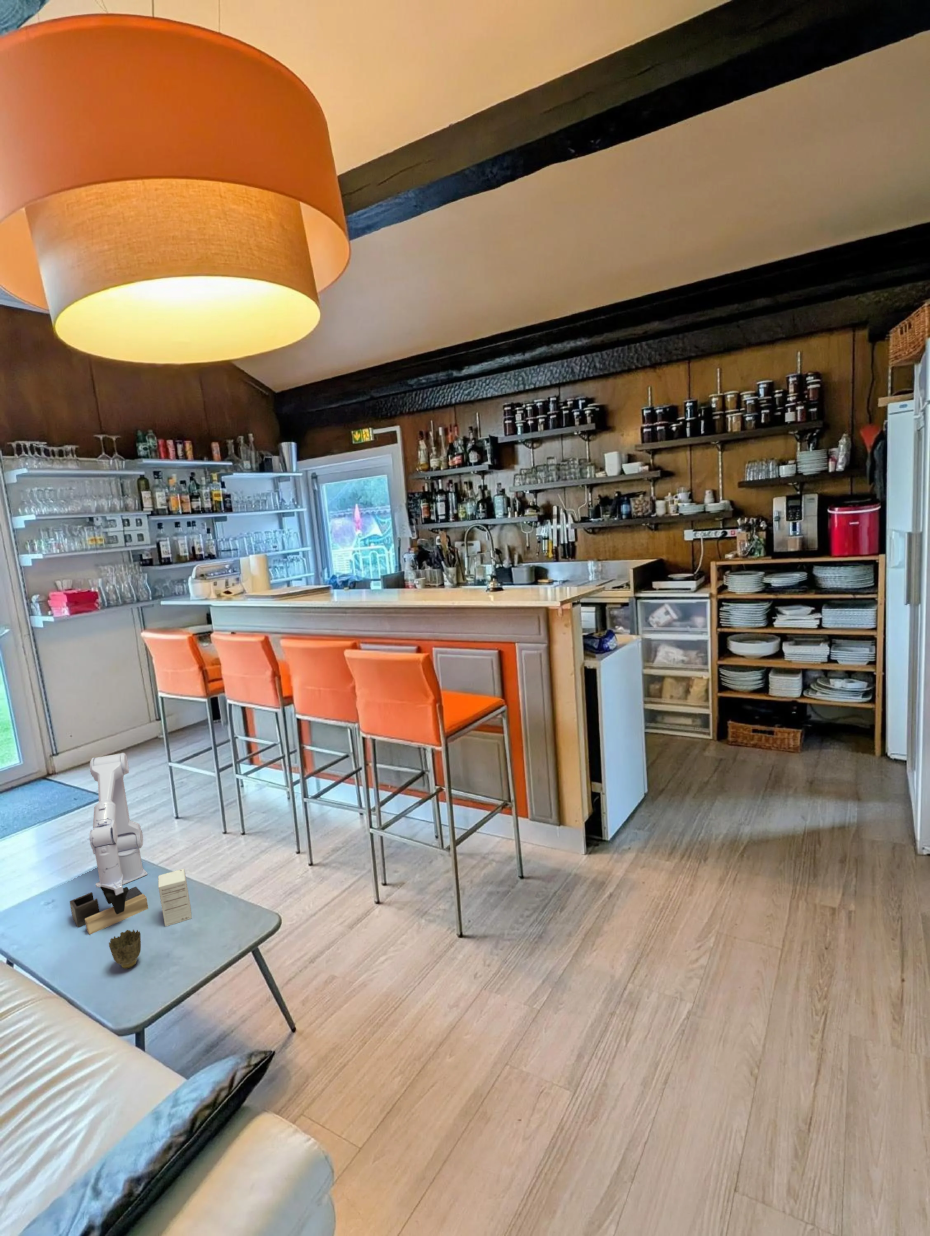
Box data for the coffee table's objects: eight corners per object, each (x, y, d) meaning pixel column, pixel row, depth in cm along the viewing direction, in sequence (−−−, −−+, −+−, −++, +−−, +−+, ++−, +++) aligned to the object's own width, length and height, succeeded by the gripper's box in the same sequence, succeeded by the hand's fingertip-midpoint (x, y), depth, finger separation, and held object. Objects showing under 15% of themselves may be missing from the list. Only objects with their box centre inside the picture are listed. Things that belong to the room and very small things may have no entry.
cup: (137, 952, 175) (132, 925, 174) (150, 962, 170) (145, 935, 169) (108, 968, 170) (103, 940, 168) (120, 979, 165) (115, 951, 164)
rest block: (123, 898, 202) (122, 892, 202) (136, 892, 205) (135, 886, 204) (129, 905, 198) (128, 899, 197) (143, 899, 200) (142, 893, 200)
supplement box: (164, 914, 192) (157, 875, 190) (191, 906, 195) (185, 867, 193) (164, 927, 185) (157, 887, 183) (192, 919, 188) (185, 879, 186)
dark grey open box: (72, 919, 192) (69, 901, 191) (95, 910, 196) (91, 892, 195) (78, 927, 188) (74, 909, 187) (100, 918, 192) (97, 899, 191)
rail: (87, 931, 187) (84, 918, 186) (145, 905, 197) (143, 893, 197) (89, 935, 184) (87, 923, 184) (148, 909, 195) (146, 897, 195)
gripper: (86, 862, 191) (94, 904, 193) (100, 879, 180) (108, 923, 182) (112, 852, 195) (119, 893, 197) (127, 868, 185) (135, 912, 187)
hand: (116, 907), depth 190 cm, fingers open, 7 cm apart
